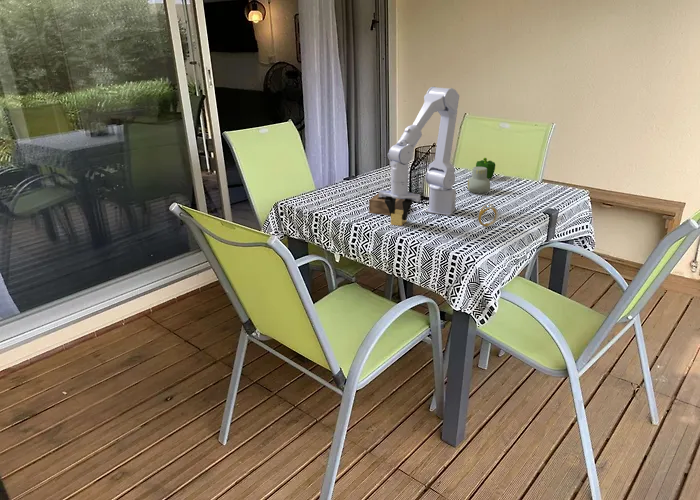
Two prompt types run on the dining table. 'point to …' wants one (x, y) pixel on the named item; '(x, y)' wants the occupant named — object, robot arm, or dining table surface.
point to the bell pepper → (488, 165)
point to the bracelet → (485, 211)
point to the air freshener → (479, 181)
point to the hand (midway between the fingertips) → (398, 218)
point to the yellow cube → (397, 218)
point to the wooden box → (383, 205)
